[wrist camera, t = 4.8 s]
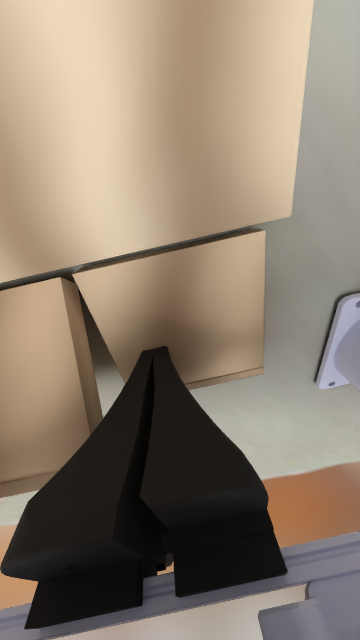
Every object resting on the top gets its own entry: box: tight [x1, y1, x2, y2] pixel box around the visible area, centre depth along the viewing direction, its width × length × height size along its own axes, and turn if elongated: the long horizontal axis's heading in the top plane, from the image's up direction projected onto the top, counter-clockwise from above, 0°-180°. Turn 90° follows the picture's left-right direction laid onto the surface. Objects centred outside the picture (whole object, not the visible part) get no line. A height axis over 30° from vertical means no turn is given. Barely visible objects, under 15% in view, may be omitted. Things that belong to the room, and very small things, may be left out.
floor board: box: [0, 0, 314, 283], centre depth 6 cm, size 18×8×1 cm, turn 101°
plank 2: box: [72, 229, 266, 390], centre depth 10 cm, size 8×8×1 cm
